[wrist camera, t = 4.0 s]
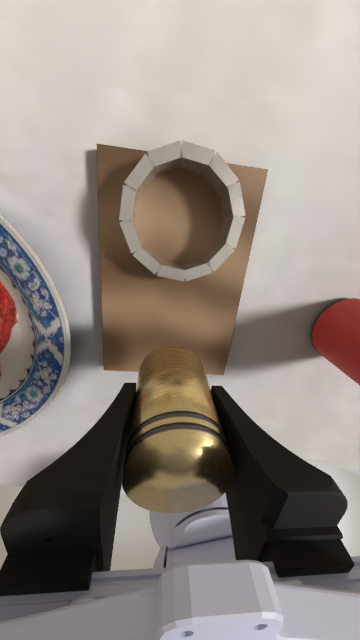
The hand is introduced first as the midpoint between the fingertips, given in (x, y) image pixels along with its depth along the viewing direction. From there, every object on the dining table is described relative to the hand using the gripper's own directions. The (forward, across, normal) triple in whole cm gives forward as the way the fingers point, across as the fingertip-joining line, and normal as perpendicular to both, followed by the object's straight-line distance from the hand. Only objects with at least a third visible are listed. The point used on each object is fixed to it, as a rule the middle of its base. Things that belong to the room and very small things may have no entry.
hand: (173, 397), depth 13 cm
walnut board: (+9, 0, -5) cm, 10 cm away
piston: (+2, 0, 0) cm, 2 cm away
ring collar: (+9, 0, -10) cm, 13 cm away
